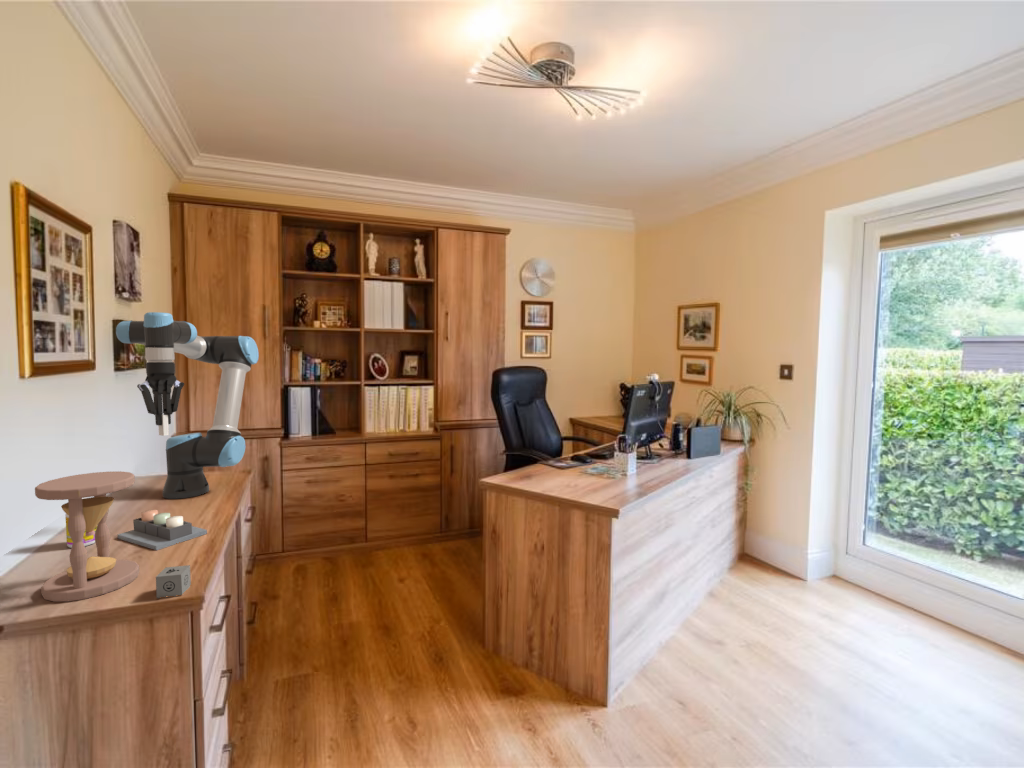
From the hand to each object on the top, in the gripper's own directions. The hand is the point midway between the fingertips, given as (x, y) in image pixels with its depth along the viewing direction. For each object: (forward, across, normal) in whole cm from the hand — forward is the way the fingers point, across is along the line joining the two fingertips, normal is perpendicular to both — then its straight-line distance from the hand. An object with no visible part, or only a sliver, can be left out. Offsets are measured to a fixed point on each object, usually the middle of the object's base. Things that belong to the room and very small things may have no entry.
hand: (163, 435), depth 158 cm
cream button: (+27, +8, +18) cm, 33 cm away
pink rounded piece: (+27, +8, +6) cm, 28 cm away
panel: (+28, +8, +12) cm, 32 cm away
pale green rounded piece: (+27, +8, +12) cm, 30 cm away
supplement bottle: (+29, +22, -2) cm, 36 cm away
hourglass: (+29, +33, +30) cm, 53 cm away
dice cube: (+29, +27, +52) cm, 65 cm away
